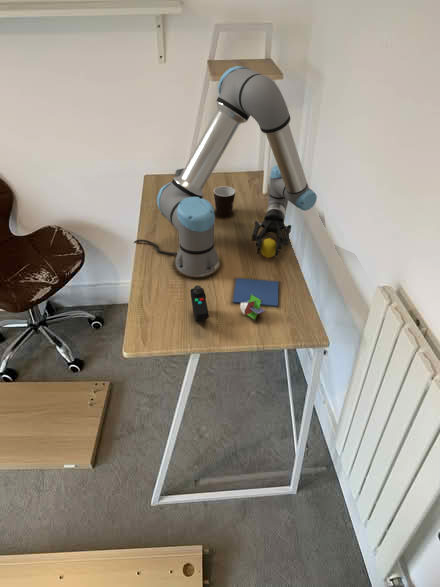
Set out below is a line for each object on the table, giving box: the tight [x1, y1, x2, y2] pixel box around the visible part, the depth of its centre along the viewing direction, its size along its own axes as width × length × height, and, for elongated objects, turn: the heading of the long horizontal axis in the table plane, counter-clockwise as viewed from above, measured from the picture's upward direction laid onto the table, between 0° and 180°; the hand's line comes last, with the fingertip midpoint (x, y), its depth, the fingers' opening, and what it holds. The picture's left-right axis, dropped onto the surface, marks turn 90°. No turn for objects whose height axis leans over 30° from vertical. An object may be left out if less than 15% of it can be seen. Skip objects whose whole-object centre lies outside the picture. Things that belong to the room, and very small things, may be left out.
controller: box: [190, 285, 210, 324], centre depth 127 cm, size 4×12×10 cm, turn 10°
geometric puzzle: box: [239, 294, 266, 321], centre depth 130 cm, size 7×7×8 cm
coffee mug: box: [213, 185, 236, 218], centre depth 176 cm, size 12×9×10 cm
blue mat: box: [232, 277, 279, 308], centre depth 140 cm, size 14×12×1 cm
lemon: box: [260, 237, 277, 259], centre depth 152 cm, size 6×6×8 cm
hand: (267, 251), depth 147 cm, fingers closed on lemon, 5 cm apart
